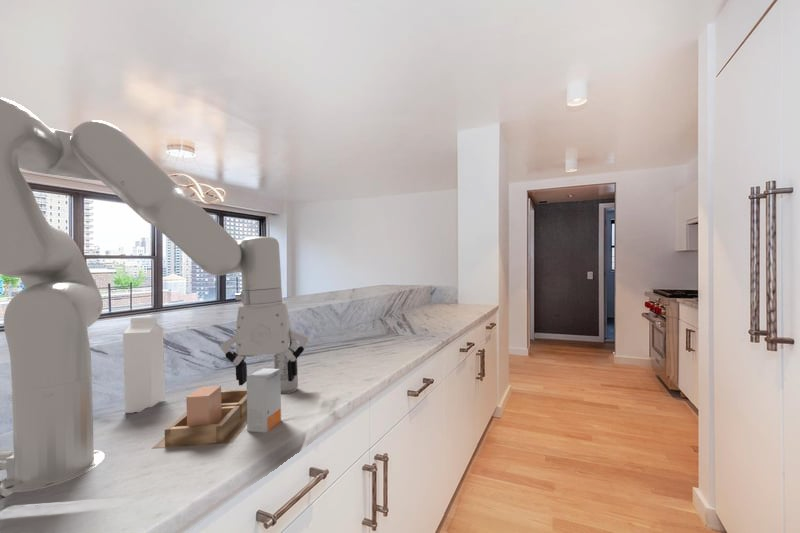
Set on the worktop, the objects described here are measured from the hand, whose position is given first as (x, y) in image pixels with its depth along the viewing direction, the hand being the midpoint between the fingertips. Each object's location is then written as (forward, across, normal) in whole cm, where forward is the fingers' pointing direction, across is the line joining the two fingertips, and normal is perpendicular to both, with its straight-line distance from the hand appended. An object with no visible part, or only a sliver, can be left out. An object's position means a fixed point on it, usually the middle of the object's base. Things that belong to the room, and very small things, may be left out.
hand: (267, 381), depth 75 cm
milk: (+10, -34, +18) cm, 39 cm away
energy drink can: (+10, -2, +25) cm, 27 cm away
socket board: (+10, -12, +4) cm, 16 cm away
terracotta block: (+8, -12, -2) cm, 15 cm away
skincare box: (+10, -1, 0) cm, 10 cm away
